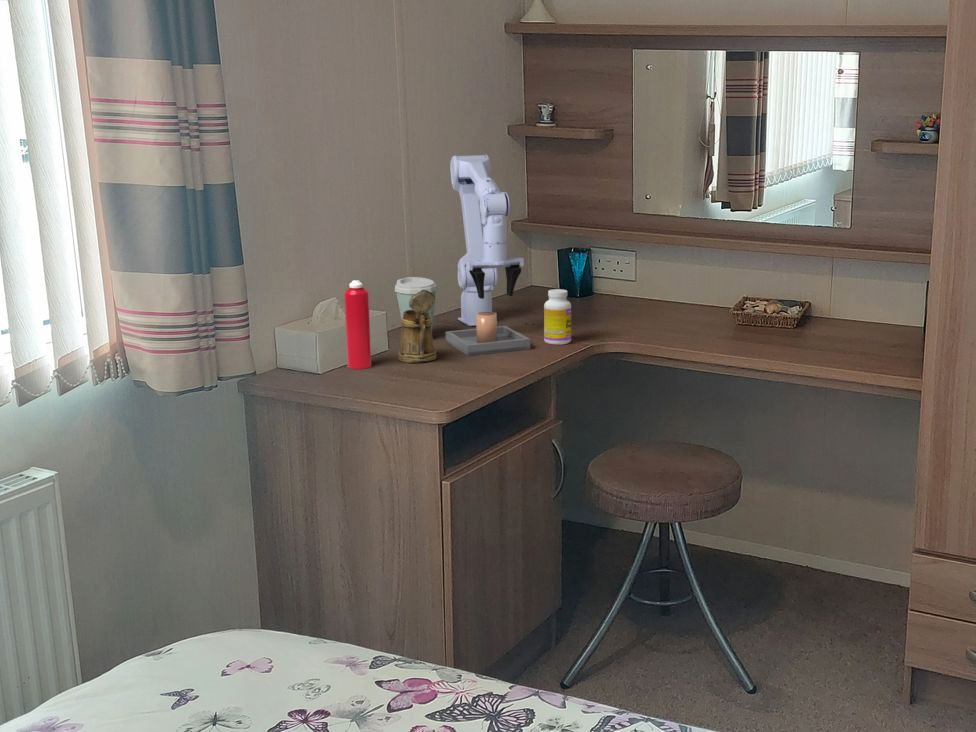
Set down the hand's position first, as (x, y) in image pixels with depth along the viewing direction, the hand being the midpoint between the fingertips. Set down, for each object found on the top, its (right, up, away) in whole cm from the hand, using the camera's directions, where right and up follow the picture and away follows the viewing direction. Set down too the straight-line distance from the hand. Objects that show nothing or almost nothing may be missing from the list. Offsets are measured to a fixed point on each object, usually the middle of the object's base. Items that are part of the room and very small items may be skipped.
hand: (495, 296), depth 293 cm
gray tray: (-2, -12, -5) cm, 13 cm away
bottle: (-31, -17, -23) cm, 43 cm away
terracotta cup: (-2, -11, -5) cm, 13 cm away
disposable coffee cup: (-20, -11, +2) cm, 22 cm away
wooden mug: (-18, -16, -19) cm, 31 cm away
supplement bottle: (+15, -12, -3) cm, 19 cm away
